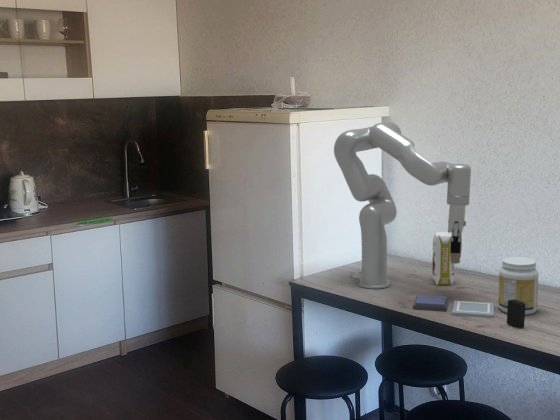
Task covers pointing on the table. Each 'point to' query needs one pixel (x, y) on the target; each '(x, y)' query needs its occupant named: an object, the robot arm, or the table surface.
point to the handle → (456, 256)
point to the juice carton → (442, 259)
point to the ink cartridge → (516, 313)
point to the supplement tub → (518, 283)
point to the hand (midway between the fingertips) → (455, 250)
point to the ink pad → (431, 302)
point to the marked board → (473, 309)
